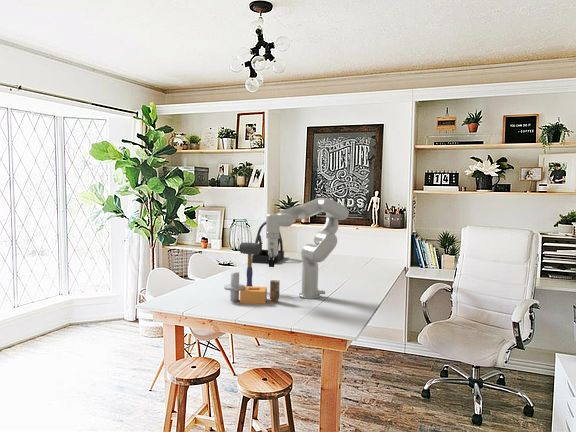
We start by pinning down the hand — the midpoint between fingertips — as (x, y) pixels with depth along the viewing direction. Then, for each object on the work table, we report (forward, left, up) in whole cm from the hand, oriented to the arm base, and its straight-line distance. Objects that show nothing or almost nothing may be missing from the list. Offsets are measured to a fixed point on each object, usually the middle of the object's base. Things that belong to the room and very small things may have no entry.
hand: (272, 265), depth 264 cm
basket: (+14, -137, -21) cm, 139 cm away
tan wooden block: (-2, +1, -21) cm, 21 cm away
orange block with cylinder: (+15, +1, -21) cm, 26 cm away
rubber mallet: (+16, -26, -21) cm, 37 cm away
